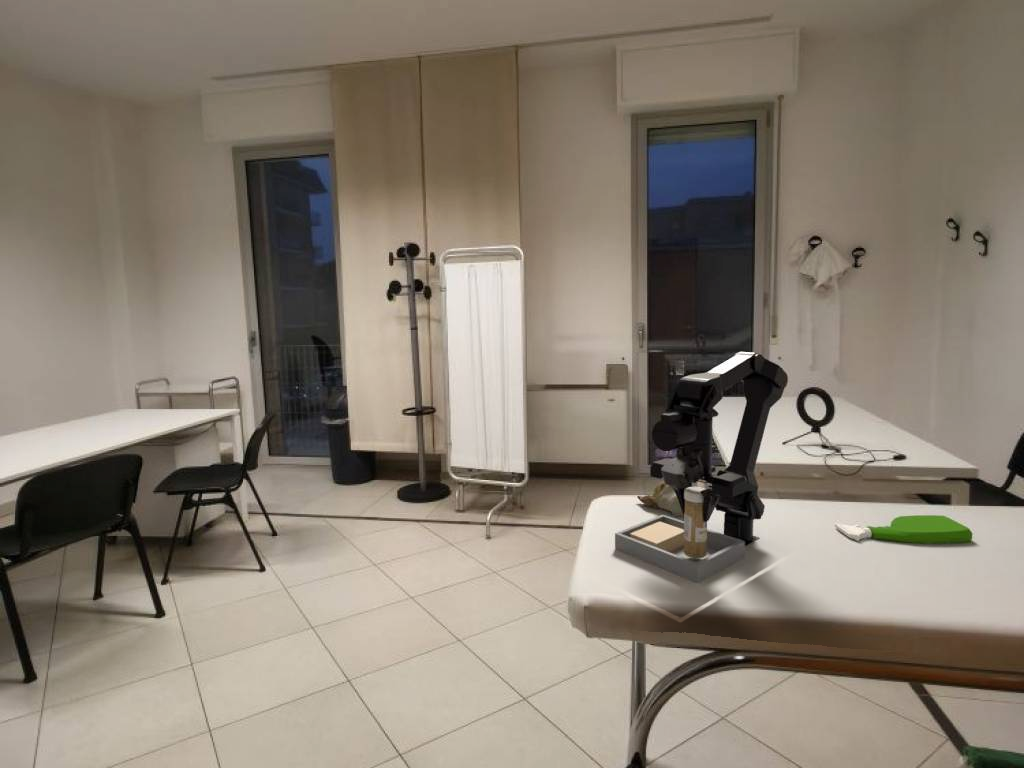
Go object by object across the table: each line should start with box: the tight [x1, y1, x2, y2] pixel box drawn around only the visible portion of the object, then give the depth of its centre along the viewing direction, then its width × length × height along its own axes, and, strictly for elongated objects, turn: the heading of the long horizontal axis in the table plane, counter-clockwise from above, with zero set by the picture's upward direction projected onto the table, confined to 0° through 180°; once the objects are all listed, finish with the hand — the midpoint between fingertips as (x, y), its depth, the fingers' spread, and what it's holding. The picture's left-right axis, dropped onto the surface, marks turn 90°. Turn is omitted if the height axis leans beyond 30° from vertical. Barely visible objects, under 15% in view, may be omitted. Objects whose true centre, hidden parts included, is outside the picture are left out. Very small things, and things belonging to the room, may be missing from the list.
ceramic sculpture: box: [636, 481, 684, 517], centre depth 145 cm, size 11×9×15 cm
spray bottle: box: [834, 514, 973, 545], centre depth 127 cm, size 3×11×24 cm
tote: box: [614, 514, 746, 584], centre depth 119 cm, size 16×20×4 cm
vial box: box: [630, 522, 684, 552], centre depth 123 cm, size 10×7×3 cm
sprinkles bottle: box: [683, 486, 708, 558], centre depth 115 cm, size 5×5×14 cm
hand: (695, 518), depth 115 cm, fingers closed on sprinkles bottle, 4 cm apart
